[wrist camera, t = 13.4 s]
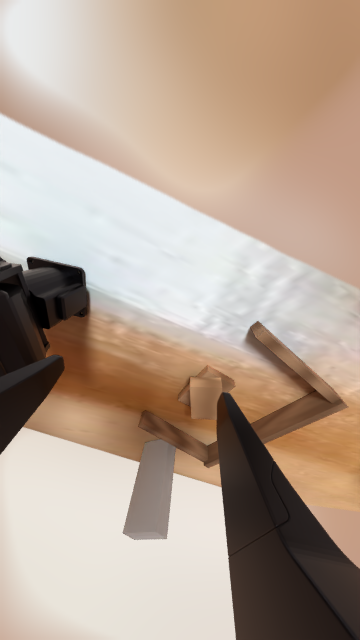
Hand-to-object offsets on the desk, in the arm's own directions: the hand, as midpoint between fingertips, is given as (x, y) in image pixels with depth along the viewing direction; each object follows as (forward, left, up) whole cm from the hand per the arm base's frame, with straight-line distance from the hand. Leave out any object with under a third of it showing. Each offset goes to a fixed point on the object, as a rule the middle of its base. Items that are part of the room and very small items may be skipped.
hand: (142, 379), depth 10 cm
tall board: (+3, -33, -13) cm, 36 cm away
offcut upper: (+8, -14, -12) cm, 20 cm away
